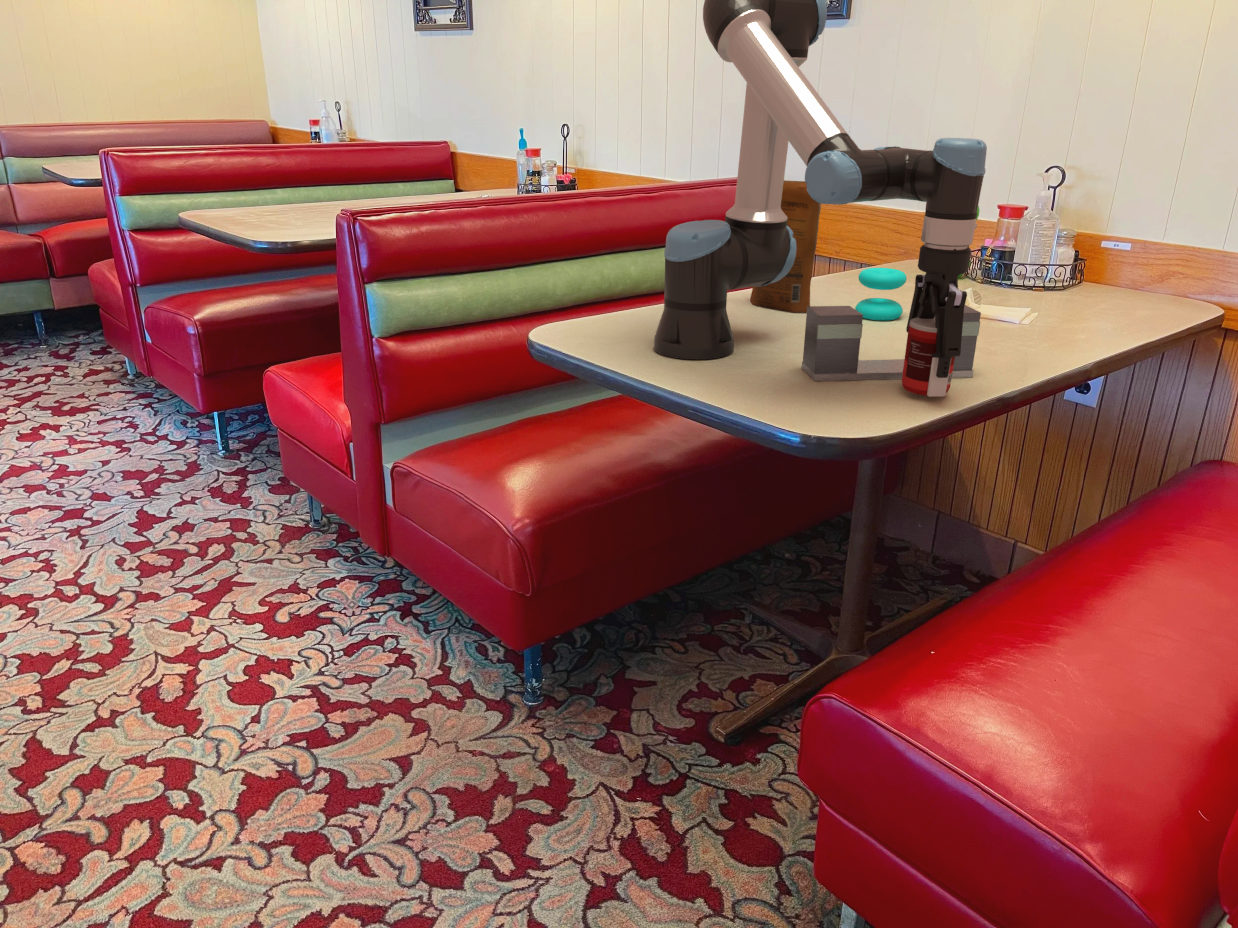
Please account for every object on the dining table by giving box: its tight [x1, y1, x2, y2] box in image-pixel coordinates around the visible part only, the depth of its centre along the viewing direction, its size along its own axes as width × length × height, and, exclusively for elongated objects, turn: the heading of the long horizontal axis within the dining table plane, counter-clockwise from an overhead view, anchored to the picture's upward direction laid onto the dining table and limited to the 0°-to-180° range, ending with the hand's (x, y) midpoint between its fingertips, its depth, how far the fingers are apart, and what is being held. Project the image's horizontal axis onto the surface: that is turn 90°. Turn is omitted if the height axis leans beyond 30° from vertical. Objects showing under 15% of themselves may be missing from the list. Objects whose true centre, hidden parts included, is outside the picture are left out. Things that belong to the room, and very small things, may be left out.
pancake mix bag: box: [749, 180, 822, 314], centre depth 205 cm, size 7×19×28 cm, turn 46°
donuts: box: [854, 267, 907, 322], centre depth 201 cm, size 10×10×10 cm
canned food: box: [901, 317, 955, 397], centre depth 149 cm, size 8×8×11 cm
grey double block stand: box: [801, 304, 982, 382], centre depth 160 cm, size 28×8×11 cm, turn 96°
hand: (925, 387), depth 151 cm, fingers closed on canned food, 8 cm apart
